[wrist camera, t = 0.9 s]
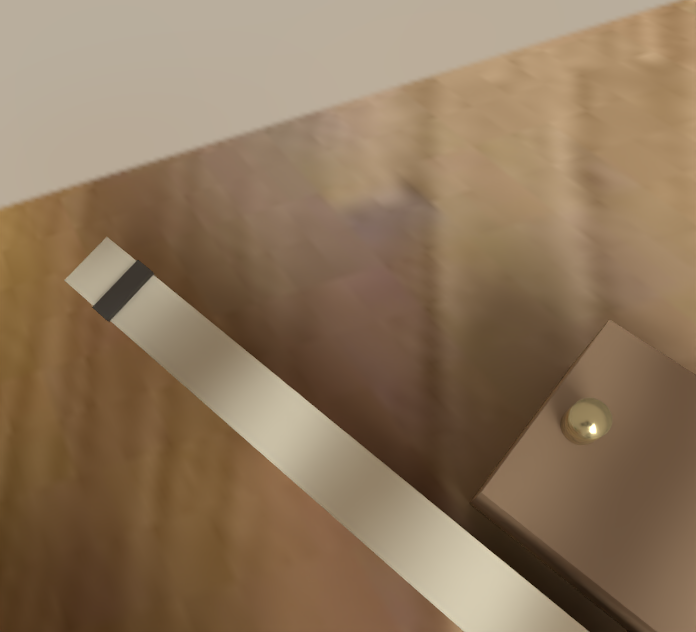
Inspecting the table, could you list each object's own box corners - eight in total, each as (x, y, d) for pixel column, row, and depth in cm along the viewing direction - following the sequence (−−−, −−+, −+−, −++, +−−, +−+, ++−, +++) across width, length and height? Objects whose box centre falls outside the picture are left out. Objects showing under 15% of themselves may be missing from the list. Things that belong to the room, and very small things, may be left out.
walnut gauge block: (762, 497, 20) (897, 478, 14) (660, 657, 19) (762, 707, 13) (571, 366, 22) (622, 304, 16) (469, 503, 21) (485, 488, 15)
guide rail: (724, 750, 18) (808, 808, 14) (685, 817, 17) (760, 895, 14) (155, 281, 25) (105, 232, 21) (118, 321, 25) (59, 278, 21)
